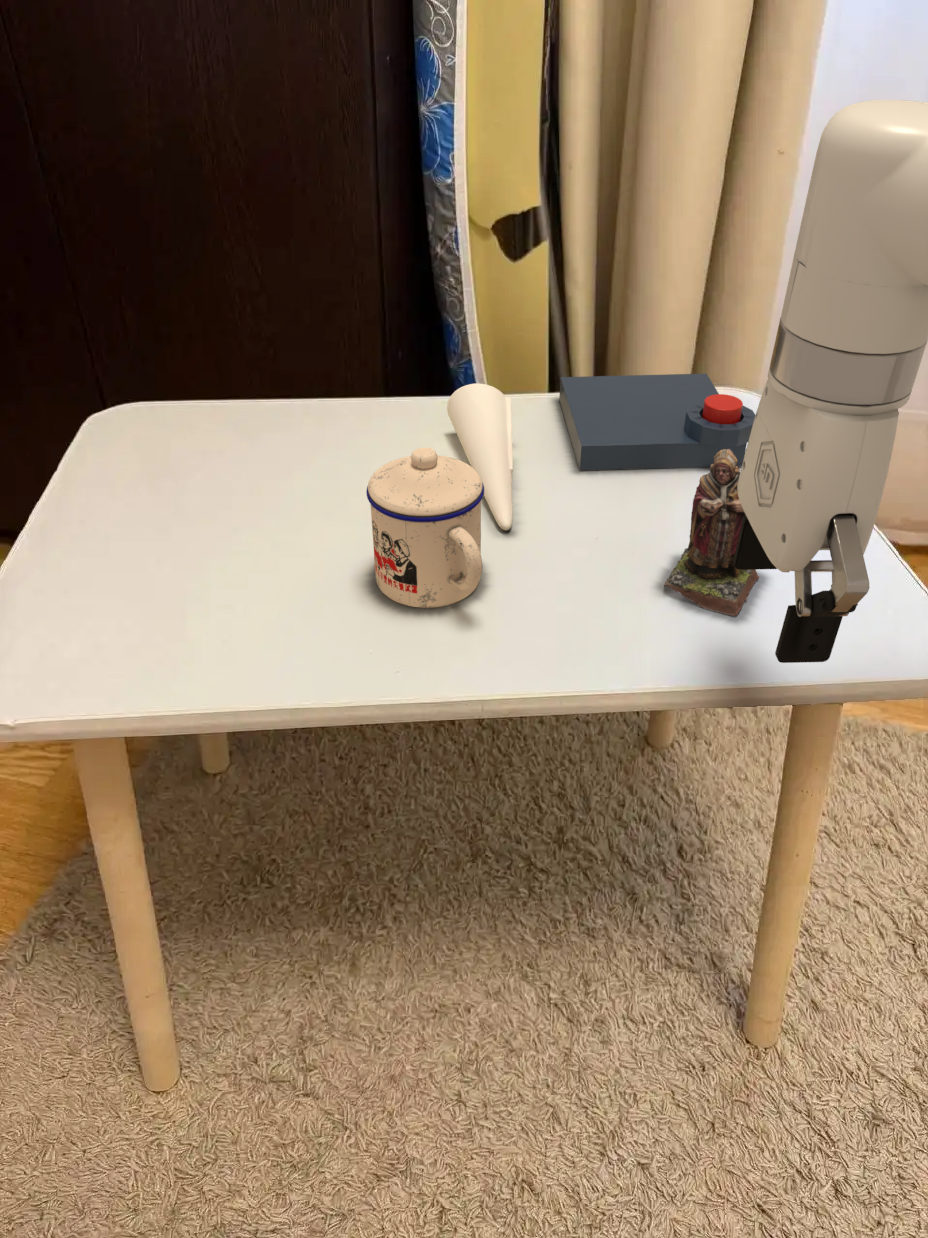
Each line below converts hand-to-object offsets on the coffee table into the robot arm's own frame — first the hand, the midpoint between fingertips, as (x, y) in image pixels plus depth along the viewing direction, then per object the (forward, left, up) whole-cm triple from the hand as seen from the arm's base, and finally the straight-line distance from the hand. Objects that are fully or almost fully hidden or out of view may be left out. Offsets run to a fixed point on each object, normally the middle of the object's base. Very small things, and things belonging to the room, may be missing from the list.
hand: (777, 610), depth 64 cm
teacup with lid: (+26, -5, -9) cm, 28 cm away
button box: (+17, -39, -8) cm, 43 cm away
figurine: (+5, -13, -9) cm, 17 cm away
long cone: (+29, -23, -9) cm, 38 cm away
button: (+9, -36, -4) cm, 37 cm away
